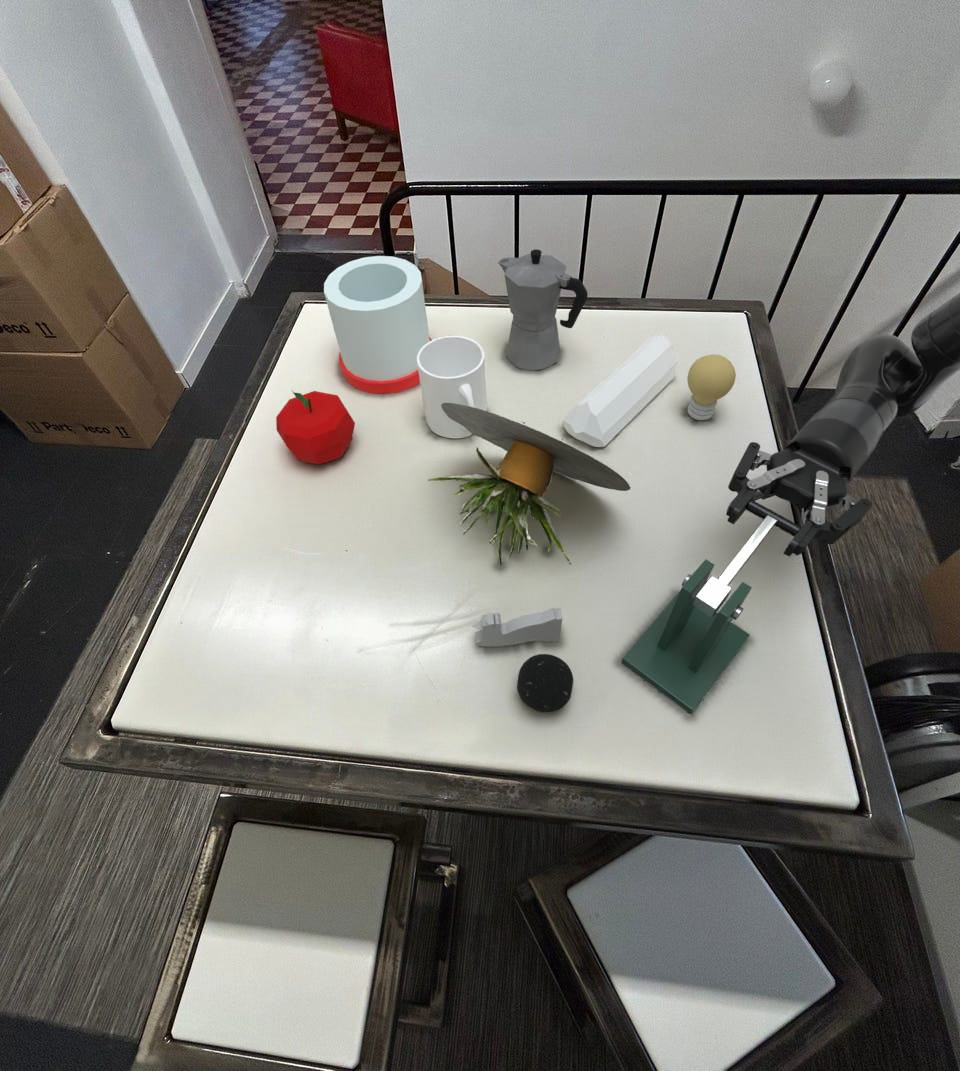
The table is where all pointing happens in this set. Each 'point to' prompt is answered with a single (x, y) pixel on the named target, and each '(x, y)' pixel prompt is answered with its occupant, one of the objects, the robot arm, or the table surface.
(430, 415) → the mug
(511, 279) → the coffeepot
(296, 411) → the apple
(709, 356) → the light bulb
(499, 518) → the upside-down potted plant
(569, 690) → the billiard ball
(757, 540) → the switch lever
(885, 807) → the table surface
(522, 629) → the grey tape dispenser
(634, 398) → the crystal
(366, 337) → the container
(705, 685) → the switch bracket
